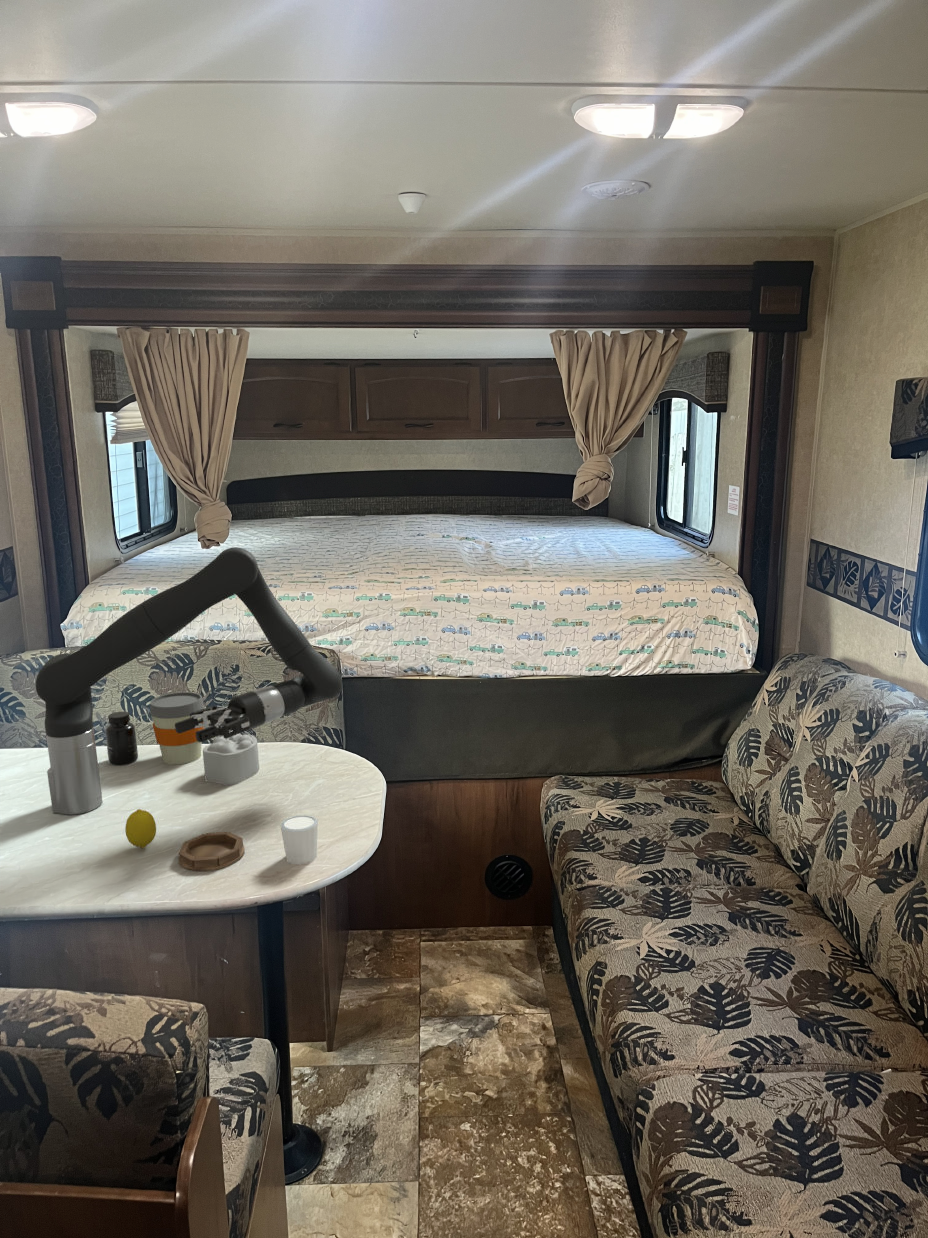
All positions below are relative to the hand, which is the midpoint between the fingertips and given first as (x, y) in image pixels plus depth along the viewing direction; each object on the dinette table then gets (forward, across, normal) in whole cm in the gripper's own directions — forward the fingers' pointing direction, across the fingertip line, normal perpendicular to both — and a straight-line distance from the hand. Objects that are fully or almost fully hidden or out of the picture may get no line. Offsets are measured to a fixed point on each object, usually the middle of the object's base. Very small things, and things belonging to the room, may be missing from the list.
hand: (186, 733), depth 171 cm
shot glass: (-6, +26, +22) cm, 34 cm away
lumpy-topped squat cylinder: (-19, -20, +22) cm, 35 cm away
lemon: (+13, 0, +20) cm, 23 cm away
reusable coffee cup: (-16, -39, +21) cm, 47 cm away
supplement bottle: (-5, -48, +20) cm, 52 cm away
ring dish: (+5, +12, +20) cm, 24 cm away
